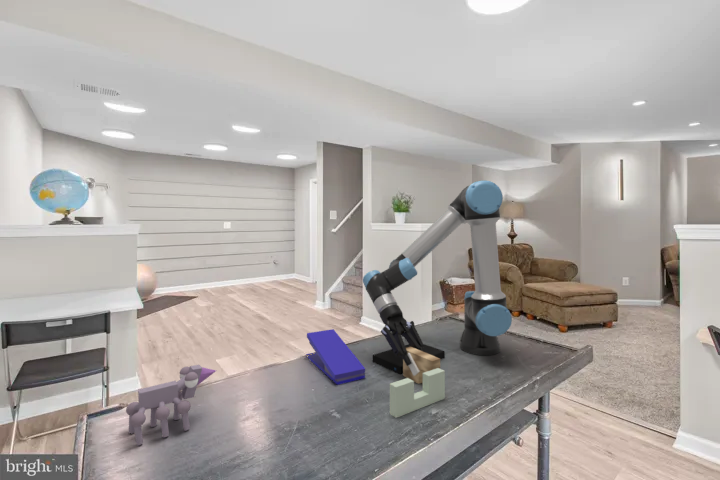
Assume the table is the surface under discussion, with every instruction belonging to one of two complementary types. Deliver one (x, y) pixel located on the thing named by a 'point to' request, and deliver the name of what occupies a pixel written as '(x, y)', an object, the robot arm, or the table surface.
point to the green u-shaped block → (408, 401)
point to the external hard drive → (396, 363)
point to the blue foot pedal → (334, 357)
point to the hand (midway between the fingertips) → (421, 372)
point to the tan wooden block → (420, 364)
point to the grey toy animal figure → (166, 401)
